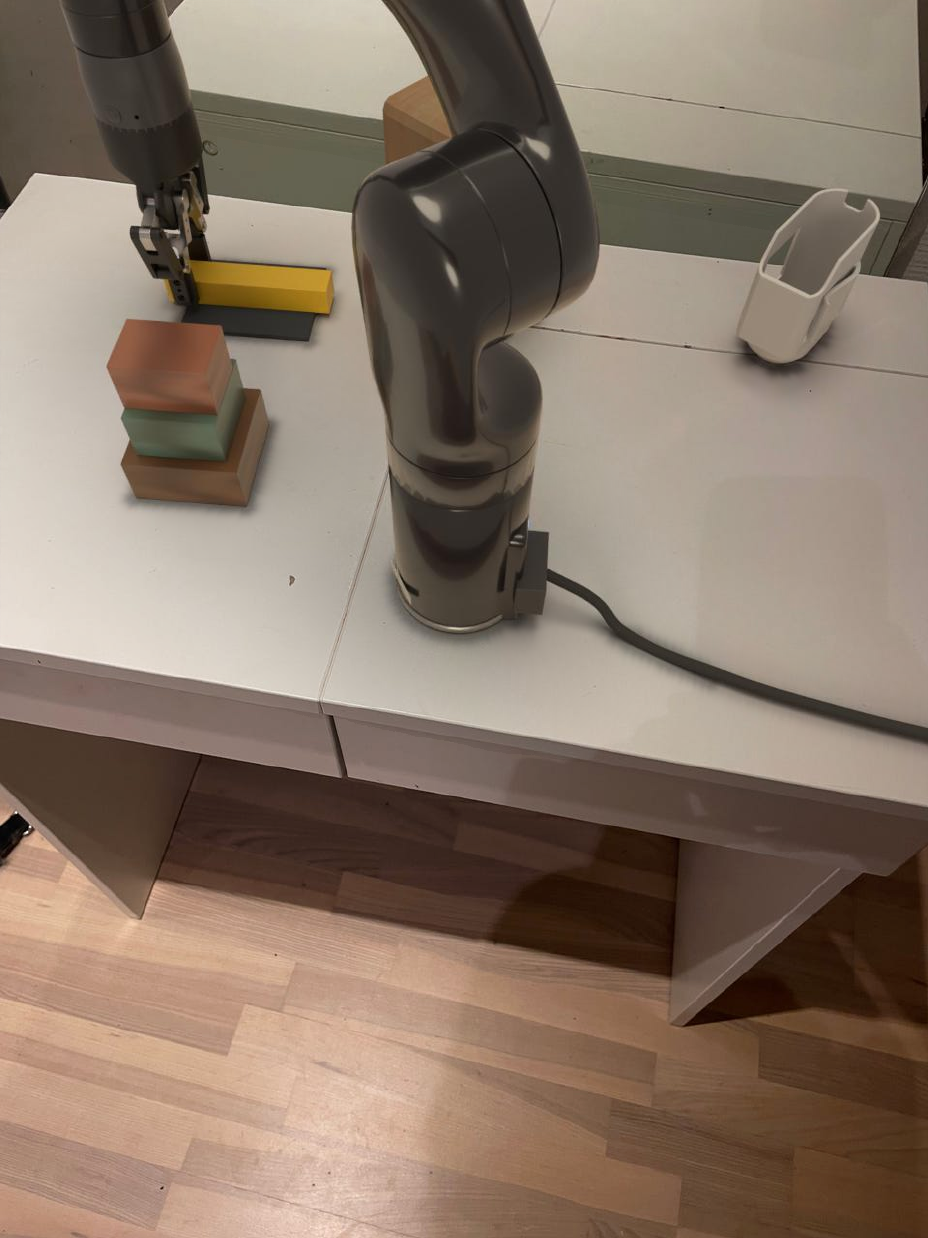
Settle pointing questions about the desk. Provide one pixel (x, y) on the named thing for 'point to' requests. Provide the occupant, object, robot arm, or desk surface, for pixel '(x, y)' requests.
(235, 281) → the yellow bar
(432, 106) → the wooden block
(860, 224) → the cable organizer
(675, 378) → the desk surface
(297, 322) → the rubber mat
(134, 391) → the toy tower
